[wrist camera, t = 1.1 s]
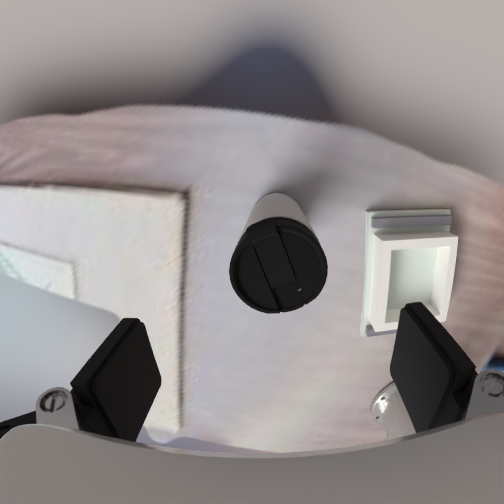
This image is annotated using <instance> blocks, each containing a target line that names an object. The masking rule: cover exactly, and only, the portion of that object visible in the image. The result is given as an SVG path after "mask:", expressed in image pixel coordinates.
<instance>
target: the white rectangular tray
mask: <svg viewBox="0 0 504 504" xmlns="http://www.w3.org/2000/svg"><path fill="white" fill-rule="evenodd" d="M365 221H366V229H365V271H364V290H363V305H362V317H361V328H360V334H361V336H367V337H370V336H378V335H385V334H392V333H397V328H398V322H399V316H400V310H401V309H402V308H404V307H405V305H406V304H407V303H413V302H422V303H423V304H424V305H425V306H426V308H427V309H428V310H429V311H430V312H431V313H432V314H433V315H434V317H435V318H436V319H437V320H438V321H439V322H443V321H446V316H447V311H448V306H449V301H450V296H451V290H452V284H453V278H454V271H455V263H456V255H457V246H458V236H456V235H454V234H452V233H450V225H452V216H451V210H448V209H422V210H385V211H365Z"/></svg>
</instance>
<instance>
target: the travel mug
mask: <svg viewBox="0 0 504 504" xmlns="http://www.w3.org/2000/svg"><path fill="white" fill-rule="evenodd" d="M327 270H328V265H327V260H326V256H325V254H324V252H323V249H322V247H321V245H320V243H319V241H318V238H317V236H316V235H315V233H314V231H313V229H312V227H311V226H310V224H309V222H308V220H307V218H306V217H305V215H304V213H303V211H302V210H301V208H300V206H299V205H298V203H297V202H296V201H295V200H294V199H293V198H292V197H290V196H289V195H287V194H284V193H270V194H267V195H265V196H263V197H262V198H261V199H259V200H258V202H257V203H256V204H255V206H254V208H253V210H252V212H251V214H250V216H249V219H248V221H247V223H246V225H245V227H244V229H243V231H242V233H241V236H240V238H239V240H238V242H237V245H236V248H235V251H234V253H233V255H232V258H231V262H230V269H229V274H230V281H231V284H232V287H233V289H234V291H235V292H236V294H237V295H238V297H239V298H240V299H241V300H242V301H243V302H244V303H246V304H247V305H248V306H250V307H251V308H253V309H255V310H258V311H260V312H264V313H280V312H289V311H293V310H296V309H298V308H301V307H303V306H304V305H305V304H306V305H307V304H308V303H309V302H311V301H312V300H314V299H315V298H316V297H317V296H318V295H319V293H320V292H321V291H322V289H323V287H324V285H325V282H326V278H327Z"/></svg>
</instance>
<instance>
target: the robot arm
mask: <svg viewBox="0 0 504 504" xmlns="http://www.w3.org/2000/svg"><path fill="white" fill-rule="evenodd" d="M475 368H476V366H475V365H474V364H473V362H472V361H471V360H470V358H469V357H468V356H467V355H466V353H465V352H464V351H463V350H462V348H461V347H460V346H459V345H458V344H457V342H456V341H455V340H454V339H453V338H452V336H451V335H450V334H449V333H448V332H447V330H446V329H445V328H444V327H443V326H442V325H441V323H440V322H439V321H438V320H437V319H436V318H435V317H434V315H433V314H432V313H431V312H430V311H429V310H428V309H427V308H426V306H425V305H424V304H423V303H422V302H413V303H407V304H406V305H405V307H404V308H402V309H401V310H400V316H399V322H398V328H397V334H396V340H395V345H394V350H393V355H392V360H391V364H390V373H391V376H392V378H393V381H394V382H393V383H392V384H390V385H389V386H387V387H386V388H384V389H383V390H382V391H381V392H380V393H379V394H378V395H377V397H376V398H375V400H374V401H373V404H372V406H371V413H372V416H373V419H374V420H375V421H376V422H378V423H380V424H384V426H385V429H386V432H387V436H386V439H385V440H384V441H379V442H374V443H369V444H363V445H357V446H350V447H343V448H336V449H327V450H317V451H306V452H291V453H265V454H264V453H263V454H262V453H259V454H258V453H250V454H249V453H221V452H220V453H219V452H206V451H194V450H184V449H176V448H168V447H161V446H154V445H148V444H143V443H137V442H135V441H136V439H137V437H138V434H139V432H140V430H141V428H142V426H143V423H144V421H145V419H146V417H147V414H148V412H149V410H150V408H151V406H152V403H153V401H154V399H155V397H156V395H157V392H158V390H159V388H160V386H161V375H160V372H159V369H158V366H157V363H156V360H155V357H154V354H153V351H152V348H151V345H150V341H149V338H148V335H147V331H146V328H145V325H144V323H143V322H140V320H139V319H138V318H123V319H122V320H121V321H120V323H119V324H118V325H117V326H116V327H115V329H114V330H113V331H112V332H111V333H110V334H109V336H108V337H107V338H106V339H105V341H104V342H103V343H102V344H101V345H100V347H99V348H98V349H97V350H96V352H95V353H94V354H93V355H92V356H91V358H90V359H89V360H88V361H87V363H86V364H85V365H84V366H83V368H82V369H81V370H80V371H79V373H78V374H77V375H76V376H75V378H74V379H73V380H72V381H71V383H70V384H71V386H72V388H73V389H72V390H71V391H68V390H67V389H65V388H63V387H56V388H51V389H49V390H47V391H45V392H44V393H42V394H41V395H40V397H39V398H38V400H37V402H36V411H33V412H30V413H28V414H25V415H21V416H18V417H15V418H12V419H9V420H6V421H3V422H1V423H0V504H504V373H503V372H500V371H497V370H491V369H490V370H484V371H482V372H480V373H479V374H478V373H477V372H476V371H475Z"/></svg>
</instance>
